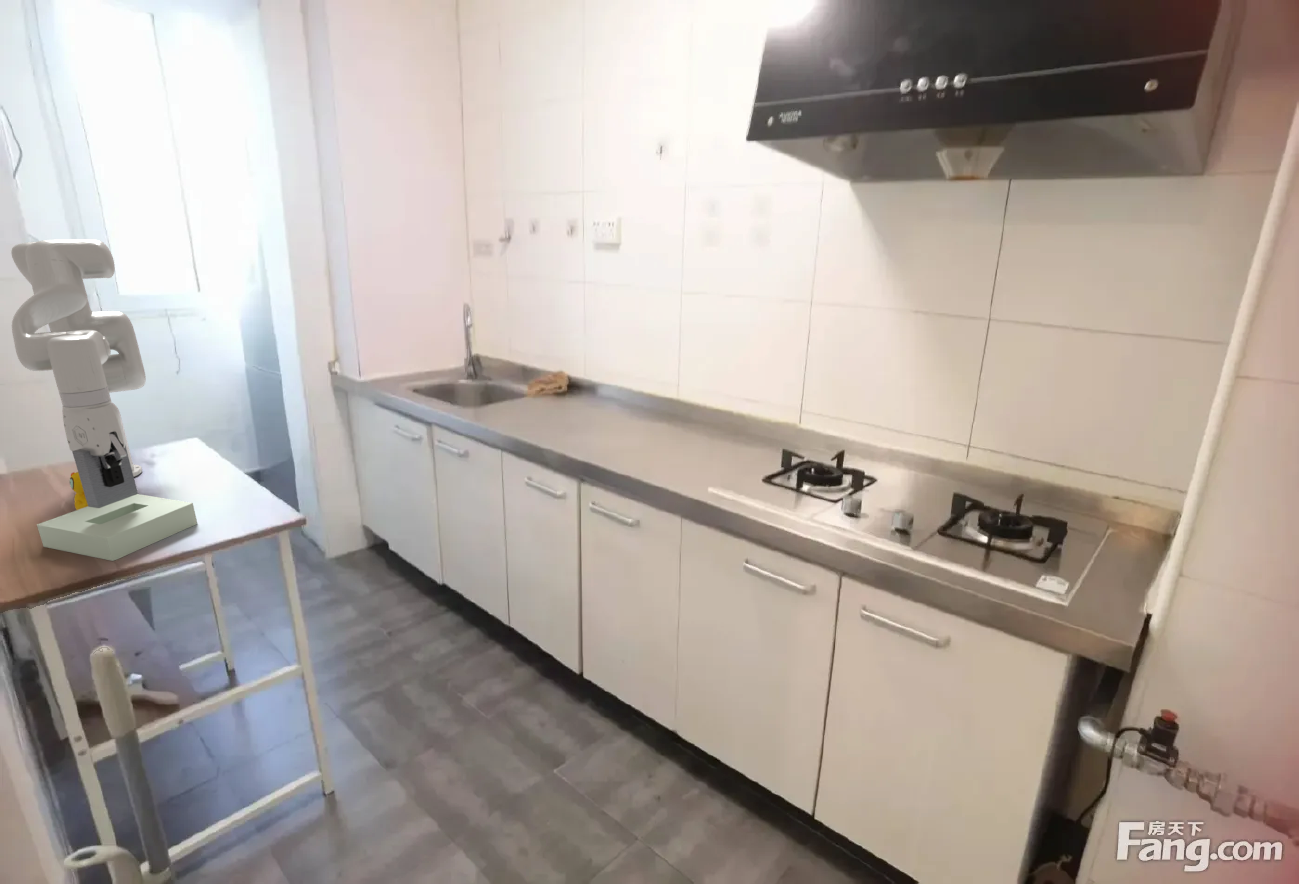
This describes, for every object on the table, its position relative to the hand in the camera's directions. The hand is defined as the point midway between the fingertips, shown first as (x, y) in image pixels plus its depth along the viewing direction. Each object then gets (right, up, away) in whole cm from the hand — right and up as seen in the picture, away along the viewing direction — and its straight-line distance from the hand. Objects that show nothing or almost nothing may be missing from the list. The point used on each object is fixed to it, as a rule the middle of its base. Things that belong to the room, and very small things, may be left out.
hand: (109, 483), depth 137 cm
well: (0, -11, +4) cm, 12 cm away
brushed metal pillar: (0, -4, +1) cm, 4 cm away
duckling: (-15, -8, +15) cm, 23 cm away
